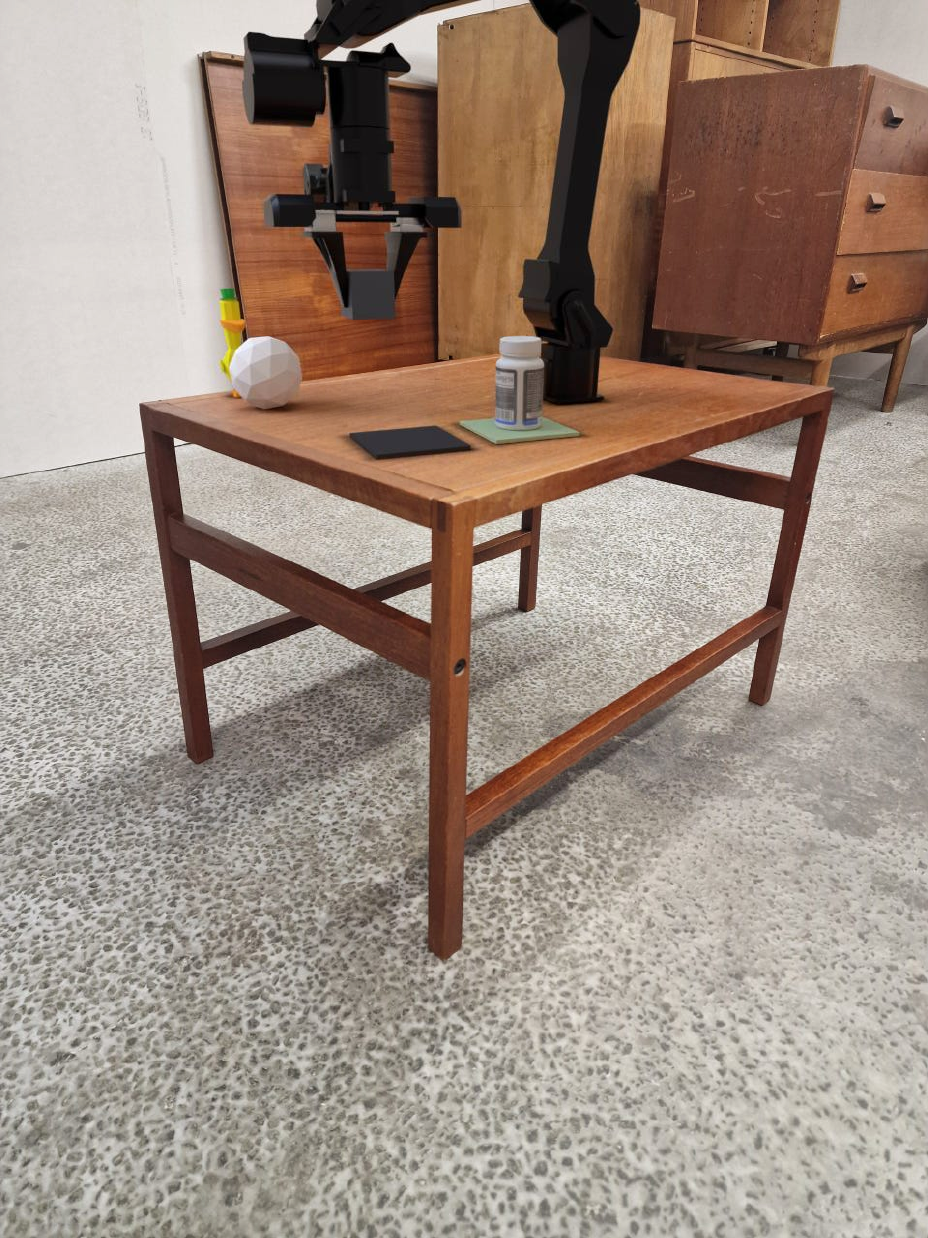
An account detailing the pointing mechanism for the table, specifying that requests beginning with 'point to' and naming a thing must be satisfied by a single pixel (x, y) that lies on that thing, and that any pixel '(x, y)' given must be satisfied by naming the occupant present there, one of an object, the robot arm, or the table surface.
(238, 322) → the toy figure
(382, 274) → the slate block
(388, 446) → the charcoal mat
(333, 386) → the table surface
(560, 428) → the sage mat
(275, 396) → the geometric ball
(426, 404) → the table surface
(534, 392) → the pill bottle
